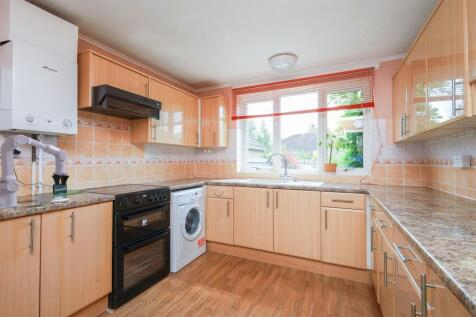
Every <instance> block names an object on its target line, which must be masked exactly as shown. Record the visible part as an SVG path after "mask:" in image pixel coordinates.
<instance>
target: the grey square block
mask: <svg viewBox="0 0 476 317" xmlns="http://www.w3.org/2000/svg"><path fill="white" fill-rule="evenodd" d="M52 199H53V194H51V193H40V194H36V198H35V200H36V203H37V202H38V203H39V202H46V201H52Z"/></svg>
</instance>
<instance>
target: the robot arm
mask: <svg viewBox="0 0 476 317" xmlns="http://www.w3.org/2000/svg"><path fill="white" fill-rule="evenodd" d="M24 145H30V146H33V147H36V148H39V149H41V150H42V151H43V152H44V153H46V154H49V155H51V156H54V158H55V163H54V164H55V168H54V169H55V170H54V171H53V172H52V175H51V178H52V180H53V182H54V185H55V186H58V185H60V183H61V186H66V184H67V182H68V179H69V177H70V175H69V172H67V171H66V158H67V157H68V153H67V151H66V150H65V149H61V148H60V147H56V146H54V145H53V144H51V143H50V144H44V143H42V142H40V141H37V140H36V139H33V138H31V137H29V136H25V135H23V134H17V135H14V134H13V135H10V136H8V137H6V138H5V140H4V141H3V142H2V144H1V145H0V166H1V177H0V209H6V208H7V209H8V208H13V207H19V206H20V207H21V204H18V189H19V187H20V185H19V182H18V180H17V177H16V176H15V164H14V150H15V149H17V148H18V147H21V146H24Z"/></svg>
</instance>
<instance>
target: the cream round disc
mask: <svg viewBox="0 0 476 317" xmlns="http://www.w3.org/2000/svg"><path fill="white" fill-rule="evenodd" d="M69 200H70V198H68V197H67V198H66V197H62V198H52V201H49V204H55V203H56V204H57V203H64V202H67V201H69Z"/></svg>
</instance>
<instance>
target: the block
mask: <svg viewBox="0 0 476 317" xmlns="http://www.w3.org/2000/svg"><path fill="white" fill-rule="evenodd" d="M38 203H39V204H38V206H41V207H43V206H50V203H49V201H46V202H38Z"/></svg>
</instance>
